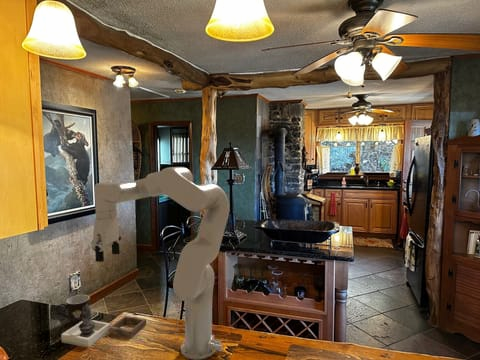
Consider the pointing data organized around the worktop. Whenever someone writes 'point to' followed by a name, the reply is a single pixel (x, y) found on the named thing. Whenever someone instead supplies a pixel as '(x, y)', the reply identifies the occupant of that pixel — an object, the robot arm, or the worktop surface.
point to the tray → (74, 337)
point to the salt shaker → (87, 323)
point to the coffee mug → (75, 308)
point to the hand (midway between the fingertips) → (108, 257)
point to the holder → (119, 331)
